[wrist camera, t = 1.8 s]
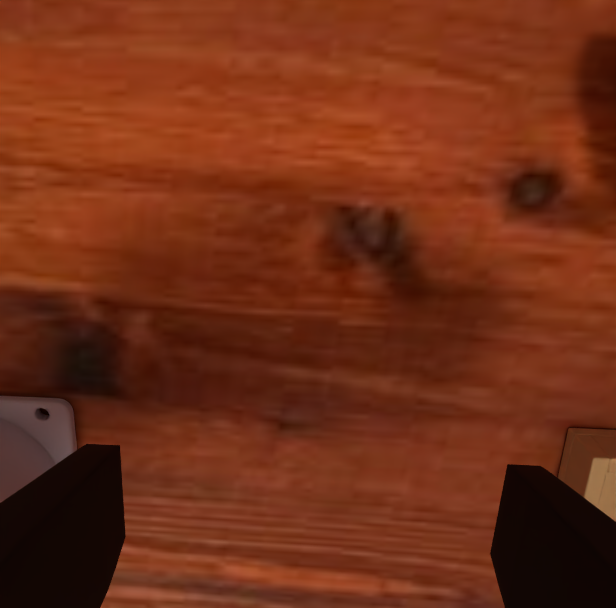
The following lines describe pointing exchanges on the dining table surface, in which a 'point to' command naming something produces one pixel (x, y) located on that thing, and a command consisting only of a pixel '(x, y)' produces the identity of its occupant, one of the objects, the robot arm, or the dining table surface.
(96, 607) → the robot arm
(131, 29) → the dining table surface
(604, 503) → the frame
